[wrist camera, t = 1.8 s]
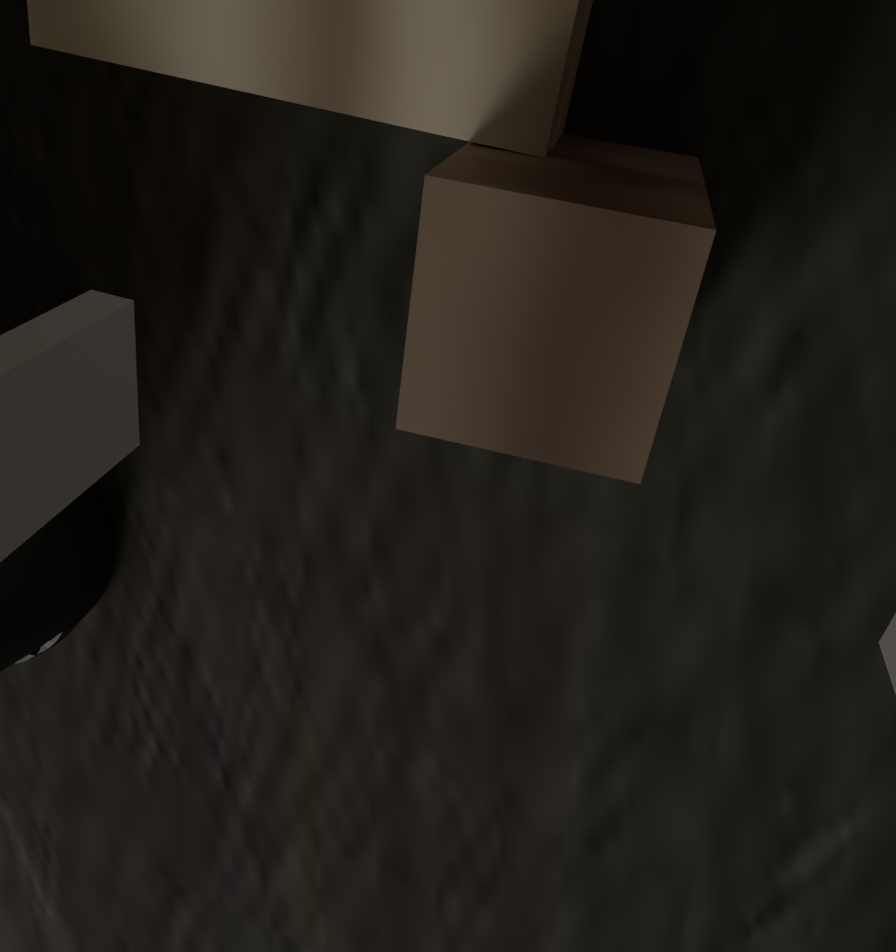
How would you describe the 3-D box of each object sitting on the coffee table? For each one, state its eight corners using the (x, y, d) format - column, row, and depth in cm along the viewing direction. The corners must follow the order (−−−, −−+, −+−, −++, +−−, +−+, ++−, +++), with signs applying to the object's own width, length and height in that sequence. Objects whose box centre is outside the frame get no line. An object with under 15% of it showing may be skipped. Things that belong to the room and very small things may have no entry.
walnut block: (467, 311, 28) (395, 428, 20) (496, 121, 25) (424, 175, 17) (645, 348, 27) (640, 484, 20) (698, 157, 24) (716, 230, 17)
